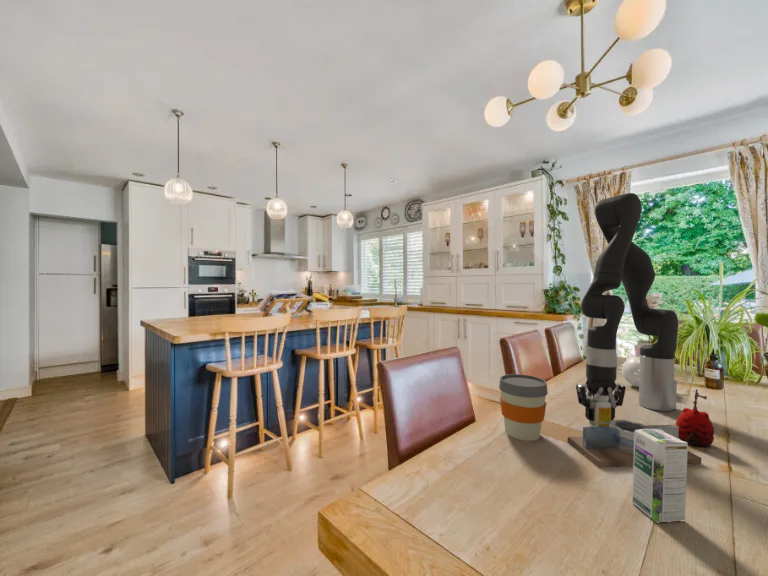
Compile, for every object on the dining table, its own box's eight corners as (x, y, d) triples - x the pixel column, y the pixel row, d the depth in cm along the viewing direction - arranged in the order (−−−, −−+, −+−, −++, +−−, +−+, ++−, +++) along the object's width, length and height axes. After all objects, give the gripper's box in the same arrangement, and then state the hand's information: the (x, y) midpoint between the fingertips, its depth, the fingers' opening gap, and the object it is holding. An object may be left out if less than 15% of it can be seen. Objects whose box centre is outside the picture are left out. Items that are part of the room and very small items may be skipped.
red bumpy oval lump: (713, 443, 90) (715, 387, 90) (714, 452, 85) (715, 393, 85) (675, 434, 95) (676, 381, 95) (674, 442, 90) (675, 386, 90)
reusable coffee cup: (546, 428, 98) (547, 377, 98) (547, 447, 87) (548, 389, 87) (501, 420, 104) (501, 371, 103) (496, 438, 92) (496, 383, 92)
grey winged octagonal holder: (660, 437, 90) (661, 418, 90) (692, 454, 81) (692, 433, 81) (573, 439, 88) (573, 420, 88) (596, 457, 80) (596, 436, 80)
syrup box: (630, 502, 66) (632, 428, 65) (658, 501, 66) (660, 427, 66) (656, 524, 60) (658, 443, 60) (687, 522, 60) (689, 441, 60)
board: (656, 439, 92) (657, 434, 92) (701, 464, 80) (701, 457, 80) (567, 442, 90) (567, 436, 90) (599, 467, 78) (599, 461, 78)
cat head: (673, 393, 129) (673, 361, 129) (638, 393, 129) (638, 361, 129) (643, 381, 144) (644, 353, 144) (612, 381, 144) (612, 352, 144)
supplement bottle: (586, 425, 100) (586, 393, 100) (593, 420, 104) (593, 389, 103) (607, 432, 96) (607, 398, 96) (613, 426, 100) (614, 394, 99)
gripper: (615, 359, 104) (613, 414, 104) (569, 359, 103) (568, 415, 103) (634, 365, 96) (633, 424, 97) (586, 366, 95) (584, 426, 96)
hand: (599, 419), depth 100 cm, fingers closed on supplement bottle, 5 cm apart
